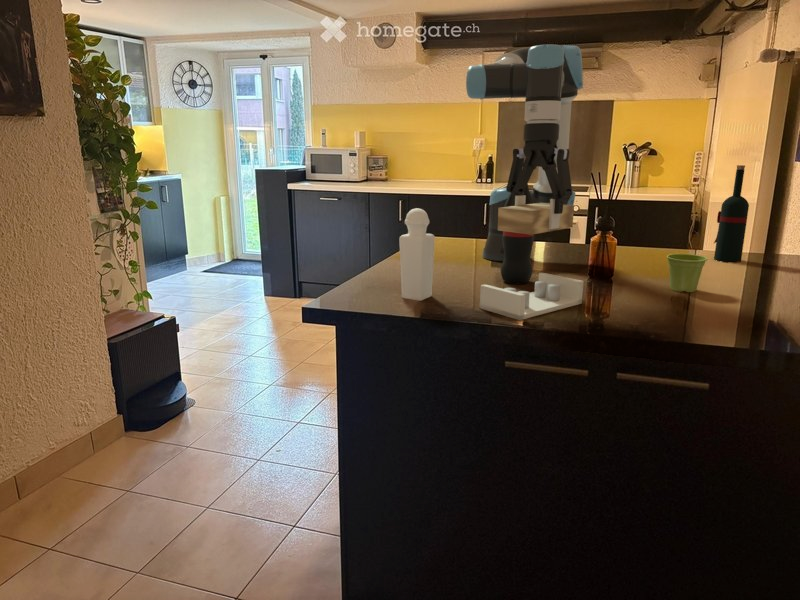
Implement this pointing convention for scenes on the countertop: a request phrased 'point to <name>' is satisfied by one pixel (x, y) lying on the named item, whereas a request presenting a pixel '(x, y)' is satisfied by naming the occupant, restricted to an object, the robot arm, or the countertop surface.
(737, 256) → the wine bottle
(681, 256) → the plant pot
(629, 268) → the countertop surface
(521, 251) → the cola bottle
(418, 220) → the white square bottle
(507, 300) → the cradle
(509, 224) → the wooden block
